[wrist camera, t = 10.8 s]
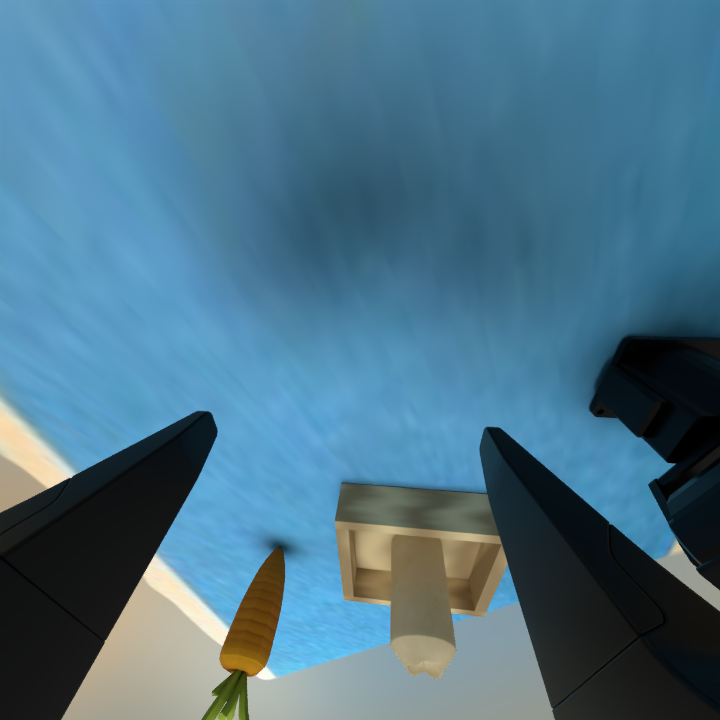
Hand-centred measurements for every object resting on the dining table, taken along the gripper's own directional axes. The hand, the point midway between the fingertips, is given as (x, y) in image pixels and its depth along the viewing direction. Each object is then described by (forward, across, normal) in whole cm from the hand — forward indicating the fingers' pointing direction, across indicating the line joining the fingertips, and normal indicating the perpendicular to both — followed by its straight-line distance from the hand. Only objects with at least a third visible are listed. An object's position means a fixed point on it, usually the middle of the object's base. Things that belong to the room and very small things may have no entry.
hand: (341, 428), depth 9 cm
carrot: (+12, +12, +33) cm, 37 cm away
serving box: (+12, -5, +27) cm, 30 cm away
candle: (+11, -5, +27) cm, 30 cm away
